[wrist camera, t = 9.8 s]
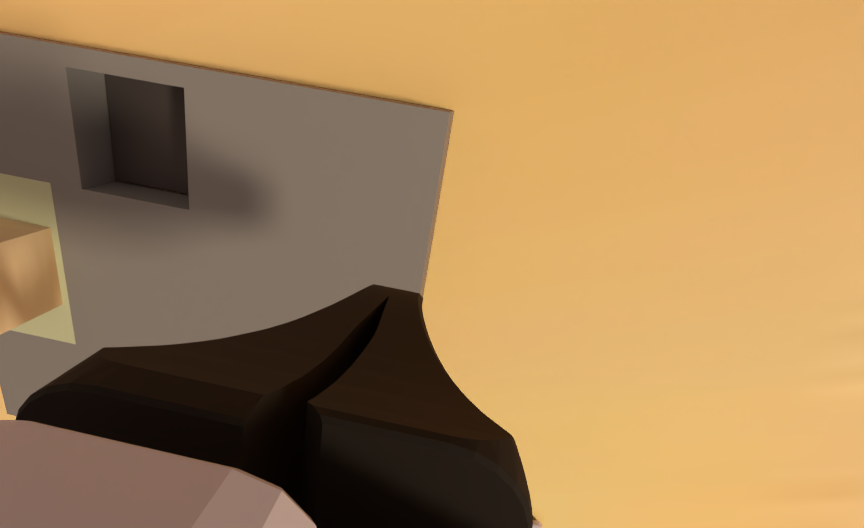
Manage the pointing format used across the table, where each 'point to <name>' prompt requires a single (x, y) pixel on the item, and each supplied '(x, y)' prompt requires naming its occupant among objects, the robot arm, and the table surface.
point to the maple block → (26, 273)
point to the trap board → (201, 199)
